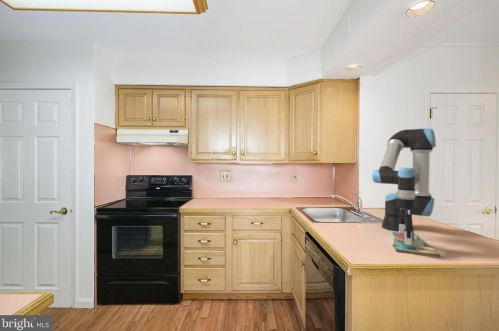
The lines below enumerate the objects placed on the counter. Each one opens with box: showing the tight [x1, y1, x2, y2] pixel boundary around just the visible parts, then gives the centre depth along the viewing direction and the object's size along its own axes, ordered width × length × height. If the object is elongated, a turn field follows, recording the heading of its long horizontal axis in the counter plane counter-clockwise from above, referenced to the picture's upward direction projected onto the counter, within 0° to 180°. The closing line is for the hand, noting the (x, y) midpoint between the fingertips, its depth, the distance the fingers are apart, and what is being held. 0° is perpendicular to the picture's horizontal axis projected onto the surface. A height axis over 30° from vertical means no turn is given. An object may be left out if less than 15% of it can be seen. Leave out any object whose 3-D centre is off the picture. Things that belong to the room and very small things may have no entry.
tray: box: [389, 230, 425, 247], centre depth 143 cm, size 14×14×3 cm
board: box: [392, 242, 441, 258], centre depth 128 cm, size 11×18×1 cm, turn 69°
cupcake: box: [395, 233, 415, 249], centre depth 129 cm, size 9×8×12 cm
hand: (404, 240), depth 129 cm, fingers open, 13 cm apart
